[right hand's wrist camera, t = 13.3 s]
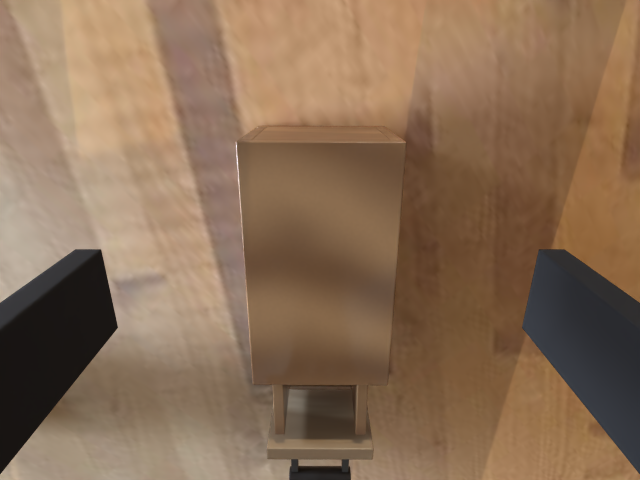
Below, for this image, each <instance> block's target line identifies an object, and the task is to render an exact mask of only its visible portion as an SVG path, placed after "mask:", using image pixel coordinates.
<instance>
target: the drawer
mask: <svg viewBox="0 0 640 480" xmlns="http://www.w3.org/2000/svg"><path fill="white" fill-rule="evenodd" d="M290 386H351V390H289V388H290ZM367 394H368V385H273V403H274V404H273V410H272V417H271V424H270V431H269V437H268V444H267V458H268V459H291V466H290V473H289V480H351V473H350V466H349V459H373V443H372V436H371V429H370V422H369V415H368V408H367ZM298 459H342V466H298Z"/></svg>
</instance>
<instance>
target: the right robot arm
mask: <svg viewBox="0 0 640 480" xmlns="http://www.w3.org/2000/svg"><path fill="white" fill-rule="evenodd" d="M117 328H118V326H117V321H116V317H115V312H114V307H113V303H112V298H111V293H110V289H109V284H108V280H107V275H106V270H105V266H104V261H103V256H102V252H101V250H74V251H73V252H71V253H70V254H68V255H67V256H66V257H64V258H63V259H61V260H60V261H59V262H57V263H56V264H54V265H53V266H52V267H50V268H49V269H47V270H46V271H44V272H43V273H42V274H40V275H39V276H37V277H36V278H35V279H33V280H32V281H30V282H29V283H28V284H26V285H25V286H23V287H22V288H21V289H19V290H18V291H16V292H15V293H13V294H12V295H11V296H9V297H8V298H6V299H5V300H4V301H2V302H1V303H0V474H1V473H2V471H3V470H4V469H5V468H6V466H7V465H8V464H9V463H10V461H11V460H12V459H13V458H14V456H15V455H16V454H17V453H18V451H19V450H20V449H21V448H22V446H23V445H24V444H25V443H26V441H27V440H28V439H29V438H30V436H31V435H32V434H33V433H34V431H35V430H36V429H37V428H38V426H39V425H40V424H41V423H42V421H43V420H44V419H45V418H46V416H47V415H48V414H49V413H50V412H51V410H52V409H53V408H54V407H55V405H56V404H57V403H58V402H59V400H60V399H61V398H62V397H63V395H64V394H65V393H66V392H67V390H68V389H69V388H70V387H71V385H72V384H73V383H74V382H75V380H76V379H77V378H78V377H79V375H80V374H81V373H82V372H83V370H84V369H85V368H86V367H87V365H88V364H89V363H90V362H91V360H92V359H93V358H94V357H95V355H96V354H97V353H98V352H99V350H100V349H101V348H102V347H103V346H104V344H105V343H106V342H107V341H108V339H109V338H110V337H111V336H112V334H113V333H114V332H115V331H116V329H117ZM522 328H523V329H524V331H525V332H526V333H527V334H528V336H529V337H530V338H531V339H532V341H533V342H534V343H535V344H536V346H537V347H538V348H539V349H540V350H541V352H542V353H543V354H544V355H545V357H546V358H547V359H548V360H549V362H550V363H551V364H552V365H553V367H554V368H555V369H556V370H557V372H558V373H559V374H560V375H561V377H562V378H563V379H564V380H565V382H566V383H567V384H568V385H569V387H570V388H571V389H572V390H573V392H574V393H575V394H576V395H577V397H578V398H579V399H580V400H581V402H582V403H583V404H584V405H585V407H586V408H587V409H588V410H589V412H590V413H591V414H592V415H593V416H594V418H595V419H596V420H597V421H598V423H599V424H600V425H601V426H602V428H603V429H604V430H605V431H606V433H607V434H608V435H609V436H610V438H611V439H612V440H613V441H614V443H615V444H616V445H617V446H618V448H619V449H620V450H621V451H622V453H623V454H624V455H625V456H626V458H627V459H628V460H629V461H630V463H631V464H632V465H633V466H634V468H635V469H636V470H637V471H638V473H639V474H640V303H639V302H638V301H636V300H635V299H634V298H632V297H631V296H629V295H628V294H627V293H625V292H624V291H622V290H621V289H619V288H618V287H617V286H615V285H614V284H612V283H611V282H610V281H608V280H607V279H605V278H604V277H603V276H601V275H600V274H598V273H597V272H596V271H594V270H593V269H591V268H590V267H588V266H587V265H586V264H584V263H583V262H581V261H580V260H579V259H577V258H576V257H574V256H573V255H572V254H570V253H569V252H567V251H566V250H539V252H538V256H537V261H536V266H535V270H534V275H533V280H532V284H531V289H530V293H529V298H528V303H527V307H526V312H525V317H524V321H523V326H522Z"/></svg>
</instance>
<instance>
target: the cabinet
mask: <svg viewBox="0 0 640 480" xmlns="http://www.w3.org/2000/svg"><path fill="white" fill-rule="evenodd" d="M406 144H407V143H406V142H405V141H404V140H403V139H401V138H400V137H398V136H397V135H396V134H394V133H393V132H392V131H390V130H389V129H387V128H386V127H384V126H257V127H256V128H254V129H253V130H252V131H250V132H249V133H247V134H246V135H245V136H243V137H242V138H240V139H239V140H238V141H236V153H237V167H238V181H239V195H240V210H241V224H242V238H243V252H244V266H245V280H246V294H247V308H248V323H249V337H250V351H251V365H252V379H253V385H388V376H389V363H390V350H391V337H392V324H393V311H394V298H395V285H396V273H397V260H398V247H399V234H400V221H401V208H402V195H403V182H404V169H405V156H406Z"/></svg>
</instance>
